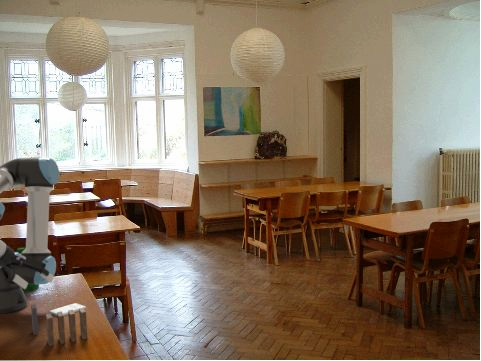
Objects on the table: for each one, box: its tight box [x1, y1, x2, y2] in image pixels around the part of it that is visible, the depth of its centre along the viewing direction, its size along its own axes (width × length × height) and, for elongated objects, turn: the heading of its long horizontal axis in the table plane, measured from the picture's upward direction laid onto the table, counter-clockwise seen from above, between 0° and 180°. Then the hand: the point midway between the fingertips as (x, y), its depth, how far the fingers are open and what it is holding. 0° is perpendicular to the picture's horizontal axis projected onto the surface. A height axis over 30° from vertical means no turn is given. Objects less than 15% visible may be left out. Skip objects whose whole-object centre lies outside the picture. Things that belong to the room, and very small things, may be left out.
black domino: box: [30, 304, 39, 336], centre depth 197 cm, size 2×5×10 cm, turn 26°
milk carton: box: [16, 246, 40, 292], centre depth 253 cm, size 9×9×20 cm
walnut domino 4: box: [78, 308, 88, 340], centre depth 191 cm, size 2×5×10 cm, turn 25°
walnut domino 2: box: [56, 311, 66, 345], centre depth 187 cm, size 2×5×10 cm, turn 25°
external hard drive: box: [48, 302, 87, 317], centre depth 220 cm, size 2×8×12 cm
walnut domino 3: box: [67, 310, 78, 342], centre depth 189 cm, size 2×5×10 cm, turn 25°
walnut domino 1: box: [45, 312, 55, 347], centre depth 186 cm, size 2×5×10 cm, turn 25°
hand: (39, 282), depth 206 cm, fingers open, 13 cm apart
